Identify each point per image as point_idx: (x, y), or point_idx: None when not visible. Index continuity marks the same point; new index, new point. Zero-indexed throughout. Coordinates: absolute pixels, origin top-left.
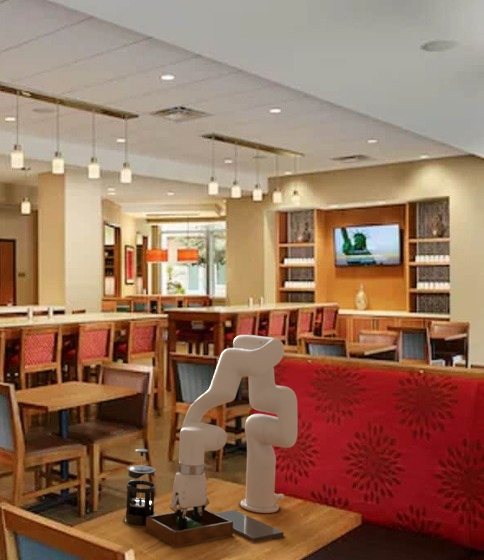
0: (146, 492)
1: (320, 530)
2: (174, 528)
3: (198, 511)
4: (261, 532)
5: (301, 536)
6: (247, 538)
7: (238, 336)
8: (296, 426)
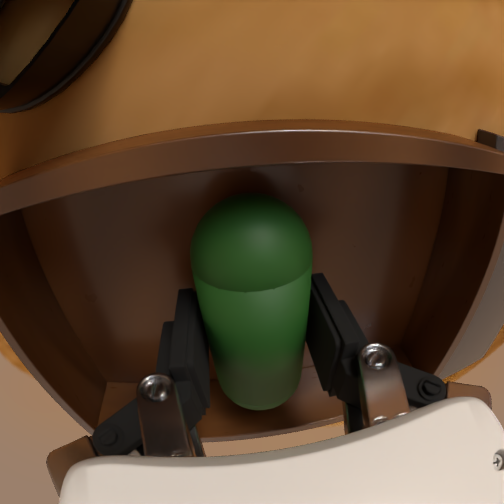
0: None
1: None
2: (187, 205)
3: (344, 420)
4: (456, 362)
5: (493, 345)
6: None
7: None
8: None
